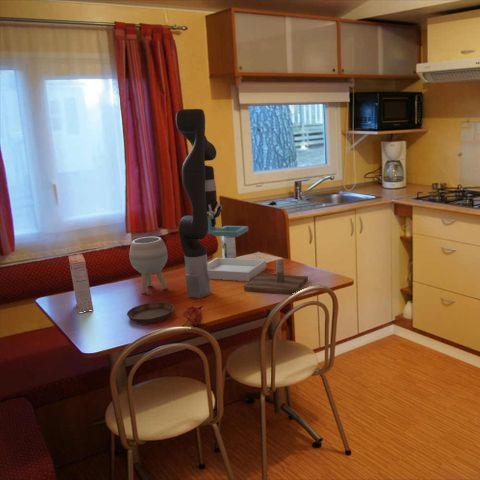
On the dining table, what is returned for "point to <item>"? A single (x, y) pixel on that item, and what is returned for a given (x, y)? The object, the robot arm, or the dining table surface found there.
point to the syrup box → (228, 247)
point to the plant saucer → (150, 312)
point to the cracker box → (80, 282)
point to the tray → (235, 268)
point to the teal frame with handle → (226, 230)
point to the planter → (148, 259)
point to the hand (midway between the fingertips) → (211, 226)
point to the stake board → (276, 282)
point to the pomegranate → (193, 315)
